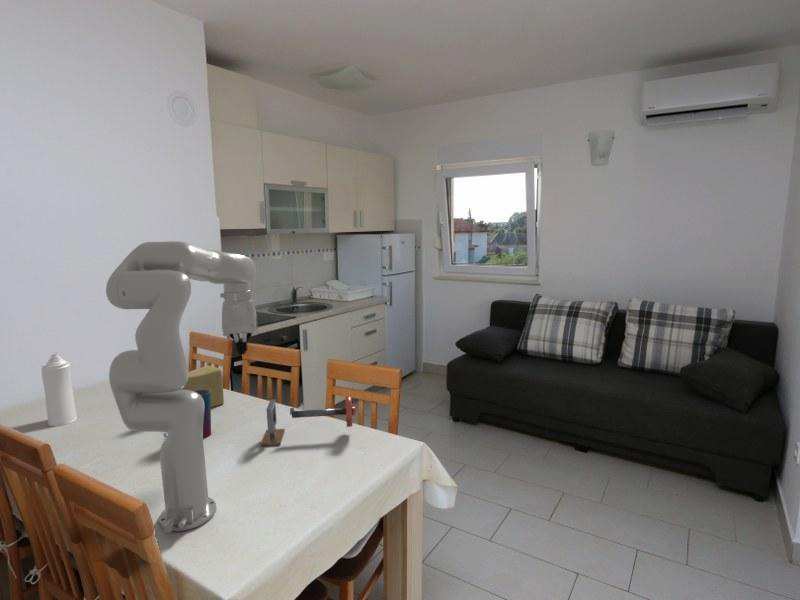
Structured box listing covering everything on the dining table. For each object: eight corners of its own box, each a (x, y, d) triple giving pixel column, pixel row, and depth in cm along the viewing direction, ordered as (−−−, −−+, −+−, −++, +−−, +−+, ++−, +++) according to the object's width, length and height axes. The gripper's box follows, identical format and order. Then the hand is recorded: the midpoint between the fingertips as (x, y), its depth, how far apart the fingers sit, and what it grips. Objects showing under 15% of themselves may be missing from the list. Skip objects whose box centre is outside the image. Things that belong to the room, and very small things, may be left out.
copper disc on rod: (356, 431, 150) (355, 402, 148) (289, 435, 148) (287, 406, 146) (355, 418, 160) (354, 391, 158) (293, 422, 158) (291, 394, 156)
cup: (206, 440, 152) (202, 397, 150) (187, 439, 154) (183, 395, 151) (218, 431, 159) (214, 389, 156) (200, 430, 160) (196, 388, 158)
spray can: (36, 423, 168) (26, 356, 164) (65, 412, 178) (56, 348, 174) (59, 427, 164) (49, 359, 160) (88, 415, 174) (79, 350, 170)
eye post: (280, 445, 148) (278, 409, 146) (261, 446, 148) (258, 410, 146) (284, 431, 158) (282, 397, 156) (266, 432, 157) (264, 398, 155)
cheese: (170, 424, 165) (166, 384, 163) (156, 418, 171) (152, 379, 168) (225, 404, 183) (222, 367, 180) (211, 399, 189) (208, 363, 186)
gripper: (209, 299, 141) (214, 357, 144) (260, 297, 142) (264, 355, 145) (216, 295, 148) (221, 351, 151) (264, 293, 150) (268, 349, 153)
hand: (242, 353), depth 148 cm, fingers closed
